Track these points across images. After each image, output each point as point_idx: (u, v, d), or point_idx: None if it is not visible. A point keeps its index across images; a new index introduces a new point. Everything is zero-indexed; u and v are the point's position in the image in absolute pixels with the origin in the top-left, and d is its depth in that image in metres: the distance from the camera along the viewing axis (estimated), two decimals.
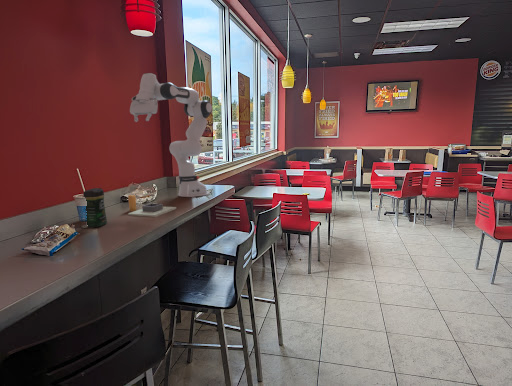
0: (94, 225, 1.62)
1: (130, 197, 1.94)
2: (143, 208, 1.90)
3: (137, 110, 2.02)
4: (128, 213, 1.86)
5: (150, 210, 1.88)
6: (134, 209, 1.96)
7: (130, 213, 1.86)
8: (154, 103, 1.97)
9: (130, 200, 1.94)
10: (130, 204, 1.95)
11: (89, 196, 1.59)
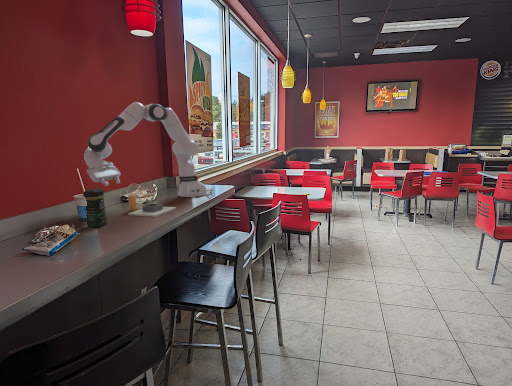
0: (94, 225, 1.62)
1: (130, 197, 1.94)
2: (143, 208, 1.90)
3: None
4: (128, 213, 1.86)
5: (150, 210, 1.88)
6: (134, 209, 1.96)
7: (130, 213, 1.86)
8: (89, 175, 1.92)
9: (130, 200, 1.94)
10: (130, 204, 1.95)
11: (89, 196, 1.59)
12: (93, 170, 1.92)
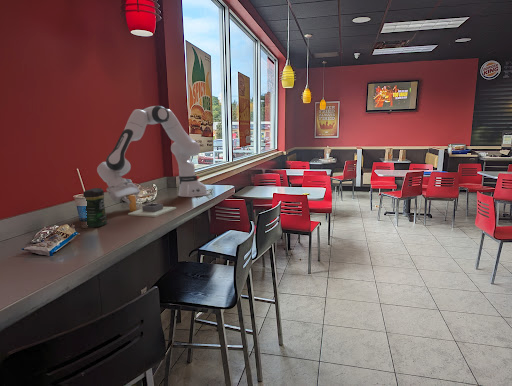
0: (94, 225, 1.62)
1: (130, 197, 1.94)
2: (143, 208, 1.90)
3: None
4: (128, 213, 1.86)
5: (150, 210, 1.88)
6: (134, 209, 1.96)
7: (130, 213, 1.86)
8: (109, 193, 1.89)
9: None
10: (130, 204, 1.95)
11: (89, 196, 1.59)
12: (113, 189, 1.90)
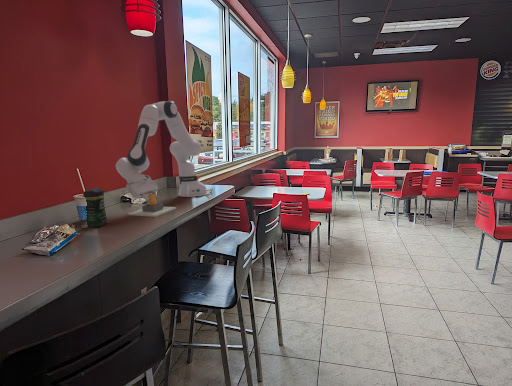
0: (94, 225, 1.62)
1: (150, 196, 1.89)
2: (143, 208, 1.90)
3: None
4: (128, 213, 1.86)
5: (150, 210, 1.88)
6: None
7: (130, 213, 1.86)
8: (128, 190, 1.84)
9: (150, 199, 1.90)
10: (150, 203, 1.90)
11: (89, 196, 1.59)
12: (133, 185, 1.85)
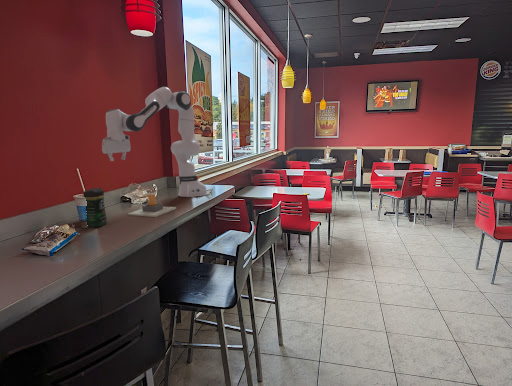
0: (94, 225, 1.62)
1: (150, 196, 1.89)
2: (143, 208, 1.90)
3: None
4: (128, 213, 1.86)
5: (150, 210, 1.88)
6: None
7: (130, 213, 1.86)
8: (102, 144, 1.92)
9: (150, 199, 1.90)
10: (150, 203, 1.90)
11: (89, 196, 1.59)
12: (108, 142, 1.93)
